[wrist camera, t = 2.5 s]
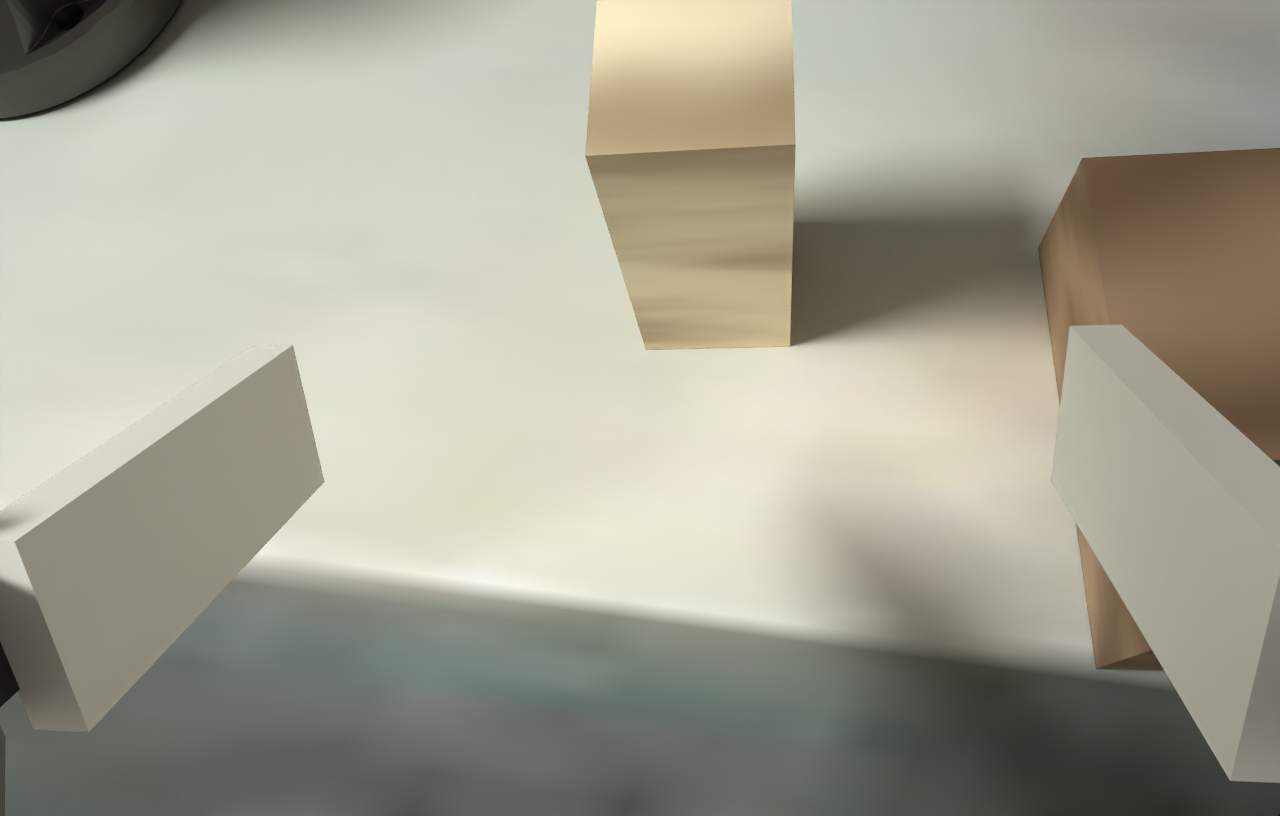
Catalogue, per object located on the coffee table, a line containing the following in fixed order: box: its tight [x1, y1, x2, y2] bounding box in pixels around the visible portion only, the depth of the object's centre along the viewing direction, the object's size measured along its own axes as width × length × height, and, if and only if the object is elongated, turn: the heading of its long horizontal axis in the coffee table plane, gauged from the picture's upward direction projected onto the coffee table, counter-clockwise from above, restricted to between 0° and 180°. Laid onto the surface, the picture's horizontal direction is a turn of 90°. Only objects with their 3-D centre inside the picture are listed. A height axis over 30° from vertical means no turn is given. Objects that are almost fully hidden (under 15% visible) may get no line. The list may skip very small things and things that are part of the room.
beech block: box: [585, 0, 795, 350], centre depth 28 cm, size 5×5×11 cm
